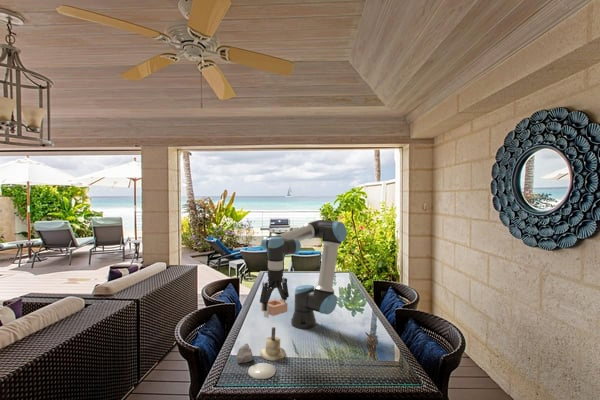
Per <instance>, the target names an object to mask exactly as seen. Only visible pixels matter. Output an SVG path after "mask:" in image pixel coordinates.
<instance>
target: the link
mask: <svg viewBox="0 0 600 400" xmlns="http://www.w3.org/2000/svg"><path fill="white" fill-rule="evenodd" d="M268 304H269V316H272V317H274V316H277V315H281V314H285V313H287V312H288V302H286V301H285V302H283V301H280V299H277V298H274V299H269V301H268ZM260 309H261V312H263V313H264V310H263V304H262V303H261V308H260Z"/></svg>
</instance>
